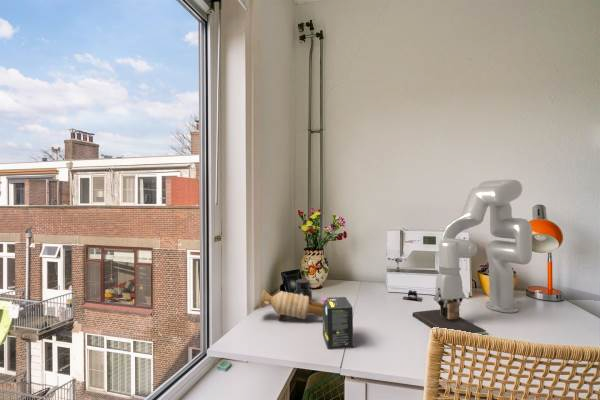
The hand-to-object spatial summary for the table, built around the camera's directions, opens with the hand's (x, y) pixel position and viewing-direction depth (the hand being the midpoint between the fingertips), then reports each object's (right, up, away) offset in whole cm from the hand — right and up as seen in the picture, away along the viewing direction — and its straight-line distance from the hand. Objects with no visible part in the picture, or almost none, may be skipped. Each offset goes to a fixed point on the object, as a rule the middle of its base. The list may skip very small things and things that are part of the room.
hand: (449, 314), depth 121 cm
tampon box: (-48, -5, -14) cm, 50 cm away
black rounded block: (-3, -5, +31) cm, 32 cm away
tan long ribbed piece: (-64, -5, +6) cm, 64 cm away
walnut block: (0, -1, 0) cm, 1 cm away
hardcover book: (-2, -5, -1) cm, 5 cm away
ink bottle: (-60, -5, +25) cm, 65 cm away
